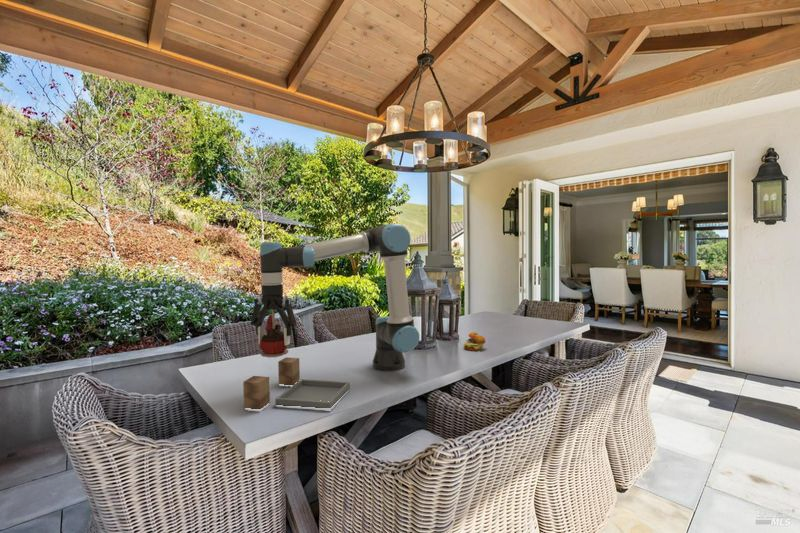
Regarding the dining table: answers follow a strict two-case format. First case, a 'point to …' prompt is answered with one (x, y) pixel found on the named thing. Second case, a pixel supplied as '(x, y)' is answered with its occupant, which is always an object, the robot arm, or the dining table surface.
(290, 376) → the right walnut block
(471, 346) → the cheeseburger
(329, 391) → the tray
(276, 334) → the cake
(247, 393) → the left walnut block
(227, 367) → the dining table surface
